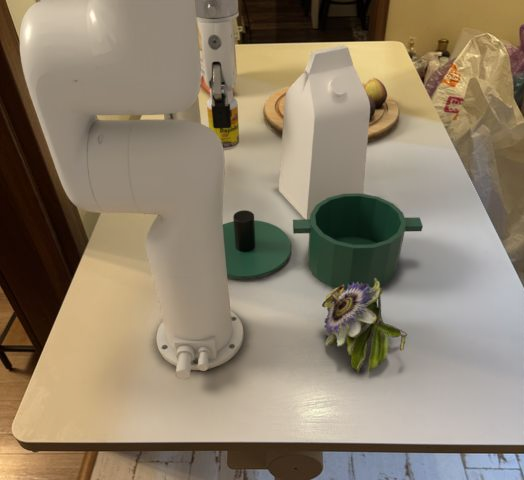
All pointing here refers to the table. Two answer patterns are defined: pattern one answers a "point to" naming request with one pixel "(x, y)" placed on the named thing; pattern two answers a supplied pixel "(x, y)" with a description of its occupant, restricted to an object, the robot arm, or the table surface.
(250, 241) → the lid
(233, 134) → the supplement bottle
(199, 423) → the table surface
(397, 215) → the pot
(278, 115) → the wooden plate
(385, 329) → the passion flower
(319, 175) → the milk
